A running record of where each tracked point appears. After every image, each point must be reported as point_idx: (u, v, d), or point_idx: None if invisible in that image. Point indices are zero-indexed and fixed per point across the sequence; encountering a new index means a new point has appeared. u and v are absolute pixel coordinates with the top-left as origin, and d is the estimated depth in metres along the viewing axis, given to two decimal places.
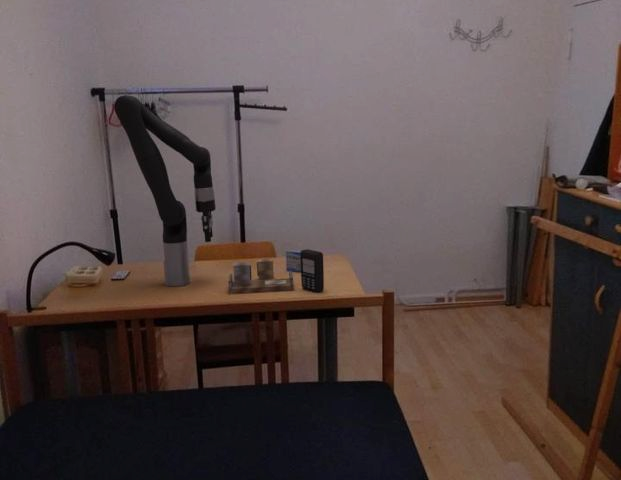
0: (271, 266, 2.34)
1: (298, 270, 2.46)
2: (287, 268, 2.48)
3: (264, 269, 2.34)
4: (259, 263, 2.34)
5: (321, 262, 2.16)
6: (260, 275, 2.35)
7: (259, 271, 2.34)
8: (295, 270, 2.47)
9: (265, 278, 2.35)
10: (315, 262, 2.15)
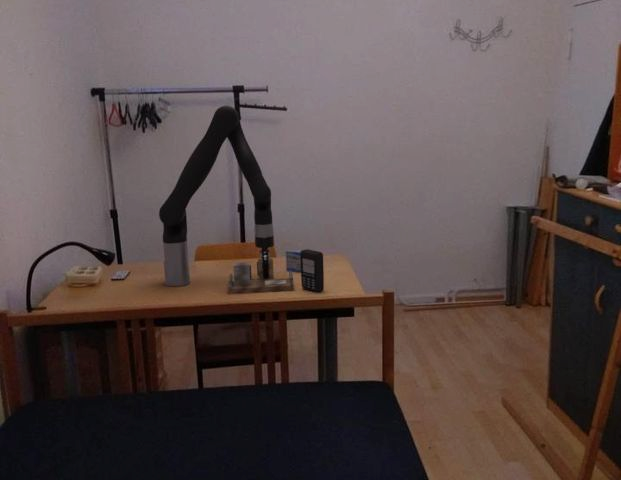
0: (271, 266, 2.34)
1: (298, 270, 2.46)
2: (287, 268, 2.48)
3: None
4: (259, 263, 2.34)
5: (321, 262, 2.16)
6: (260, 275, 2.35)
7: (259, 271, 2.34)
8: (295, 270, 2.47)
9: (265, 278, 2.35)
10: (315, 262, 2.15)
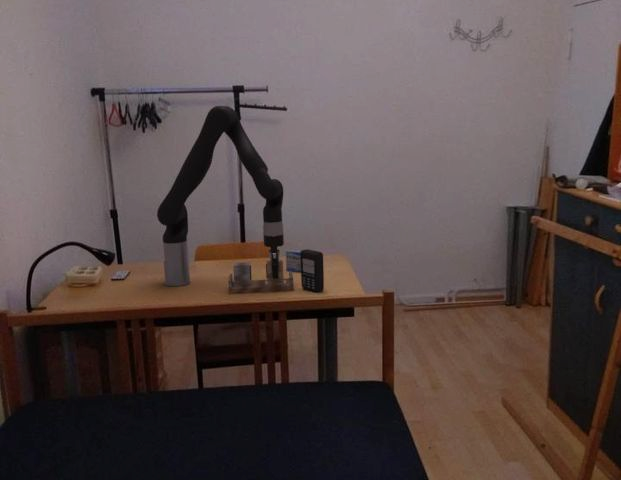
0: (281, 268, 2.22)
1: (298, 270, 2.46)
2: (287, 268, 2.48)
3: None
4: (268, 265, 2.21)
5: (321, 262, 2.16)
6: (269, 277, 2.22)
7: (268, 273, 2.22)
8: (295, 270, 2.47)
9: (274, 281, 2.23)
10: (315, 262, 2.15)
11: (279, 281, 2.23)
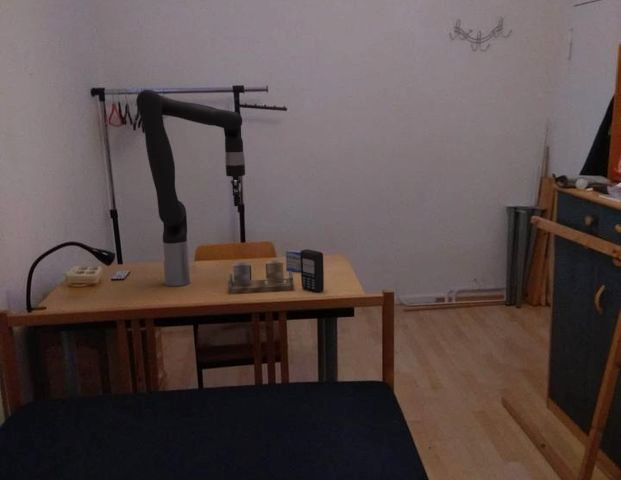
0: (281, 268, 2.22)
1: (298, 270, 2.46)
2: (287, 268, 2.48)
3: (274, 272, 2.22)
4: (268, 265, 2.21)
5: (321, 262, 2.16)
6: (269, 277, 2.22)
7: (268, 273, 2.22)
8: (295, 270, 2.47)
9: (274, 281, 2.23)
10: (315, 262, 2.15)
11: (279, 281, 2.23)
